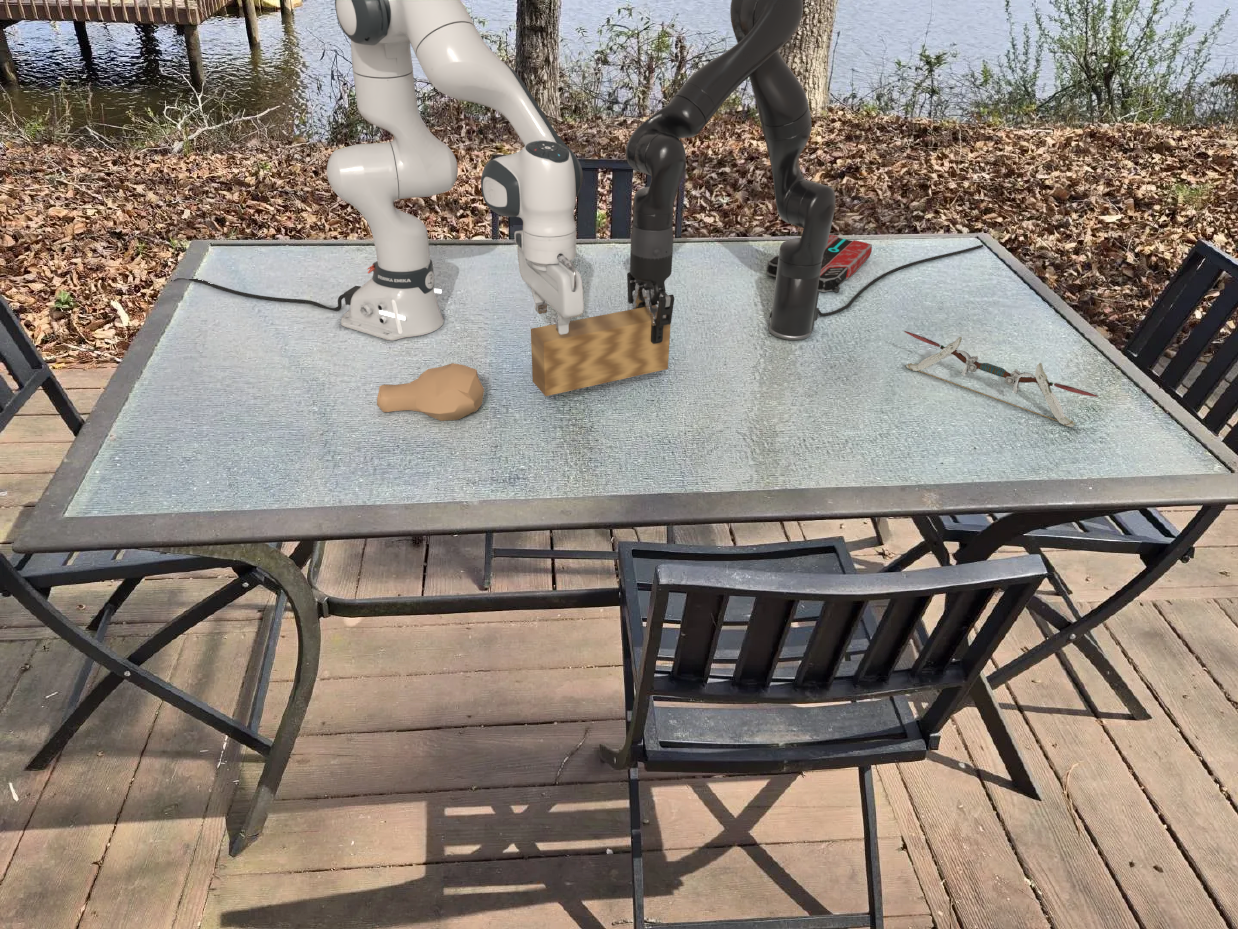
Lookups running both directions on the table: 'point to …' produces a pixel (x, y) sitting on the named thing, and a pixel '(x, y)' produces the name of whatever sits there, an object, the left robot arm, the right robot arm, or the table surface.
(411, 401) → the squash
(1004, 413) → the table surface
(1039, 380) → the bow
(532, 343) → the box
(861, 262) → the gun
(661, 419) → the table surface
